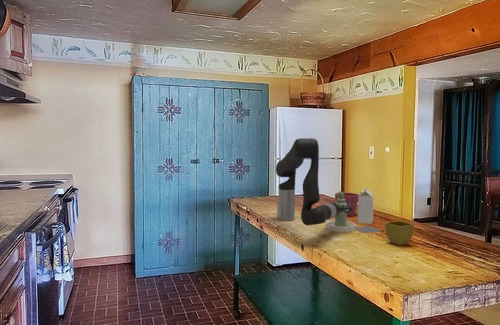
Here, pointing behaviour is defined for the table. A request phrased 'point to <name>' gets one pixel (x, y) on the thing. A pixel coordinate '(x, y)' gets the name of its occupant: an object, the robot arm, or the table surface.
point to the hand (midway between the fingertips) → (341, 206)
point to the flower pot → (399, 232)
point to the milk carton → (365, 207)
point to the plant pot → (350, 201)
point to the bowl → (341, 227)
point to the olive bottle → (341, 217)
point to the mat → (367, 229)
